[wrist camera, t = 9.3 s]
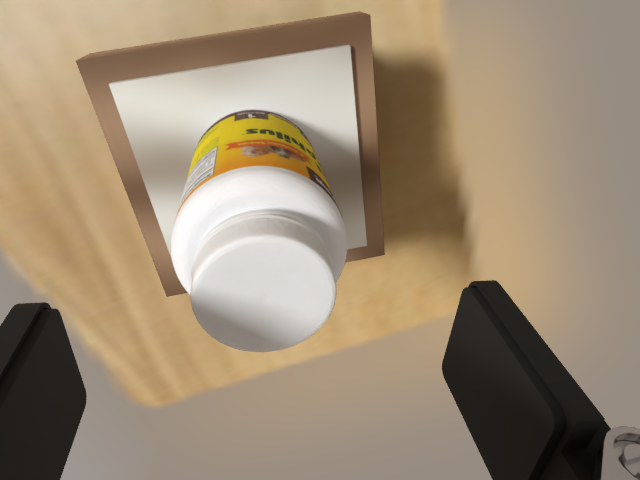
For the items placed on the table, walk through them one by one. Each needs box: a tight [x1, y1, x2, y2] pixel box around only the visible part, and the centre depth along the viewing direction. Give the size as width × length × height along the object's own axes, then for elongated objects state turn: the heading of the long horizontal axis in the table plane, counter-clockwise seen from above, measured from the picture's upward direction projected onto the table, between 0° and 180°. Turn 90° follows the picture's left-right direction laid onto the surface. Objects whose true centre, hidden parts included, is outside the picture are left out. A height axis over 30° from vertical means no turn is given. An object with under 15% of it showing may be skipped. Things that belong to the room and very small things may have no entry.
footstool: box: [76, 12, 385, 297], centre depth 25 cm, size 12×12×8 cm
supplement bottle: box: [171, 109, 347, 352], centre depth 17 cm, size 6×6×10 cm
